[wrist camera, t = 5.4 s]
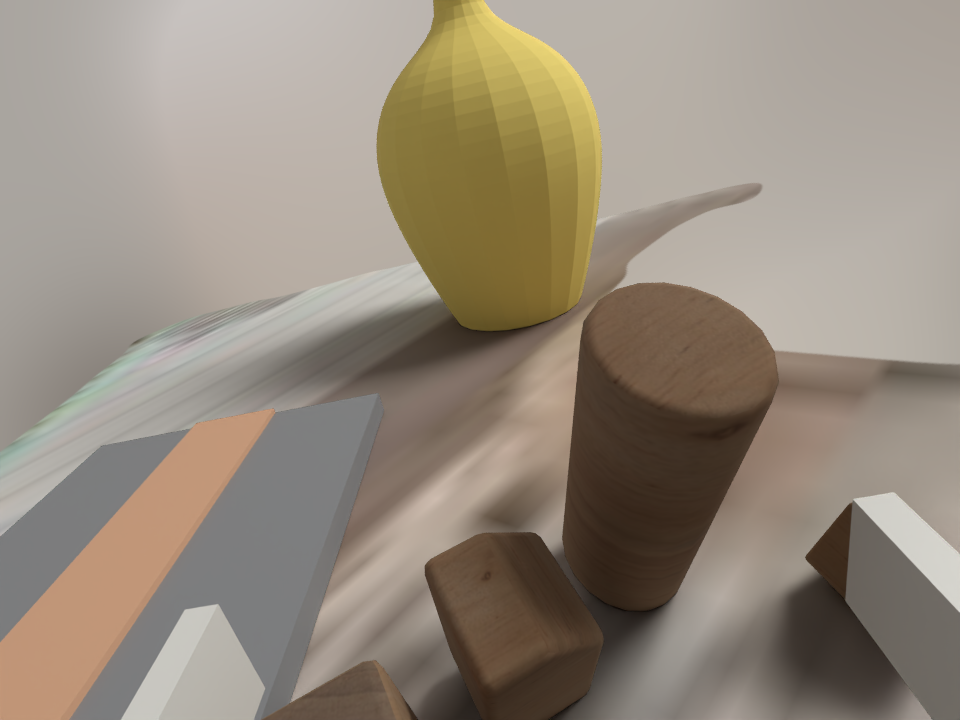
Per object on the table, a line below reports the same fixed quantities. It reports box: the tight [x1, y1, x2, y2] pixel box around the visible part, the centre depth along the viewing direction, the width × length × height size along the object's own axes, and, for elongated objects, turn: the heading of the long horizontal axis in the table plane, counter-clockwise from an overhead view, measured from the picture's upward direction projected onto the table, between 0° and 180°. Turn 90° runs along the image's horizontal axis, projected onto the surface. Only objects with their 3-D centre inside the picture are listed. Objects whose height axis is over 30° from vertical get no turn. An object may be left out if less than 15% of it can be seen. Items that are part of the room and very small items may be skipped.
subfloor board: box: [0, 393, 384, 720], centre depth 24 cm, size 18×24×2 cm
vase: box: [377, 0, 602, 331], centre depth 40 cm, size 16×16×28 cm
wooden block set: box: [261, 283, 852, 720], centre depth 14 cm, size 18×9×10 cm, turn 115°
